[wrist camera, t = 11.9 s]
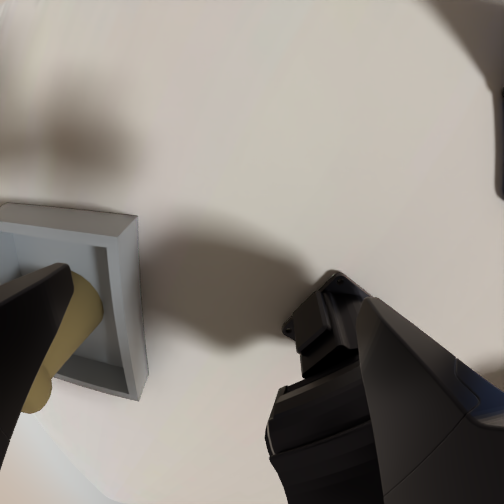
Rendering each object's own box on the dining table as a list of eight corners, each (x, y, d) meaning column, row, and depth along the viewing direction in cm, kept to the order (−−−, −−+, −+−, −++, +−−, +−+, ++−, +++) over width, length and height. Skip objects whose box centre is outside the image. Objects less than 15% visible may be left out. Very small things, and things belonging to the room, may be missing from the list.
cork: (69, 333, 26) (14, 424, 16) (33, 279, 23) (-41, 362, 13) (116, 322, 25) (60, 428, 15) (78, 260, 22) (-6, 356, 12)
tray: (6, 202, 21) (-20, 218, 18) (137, 216, 21) (117, 237, 18) (40, 345, 28) (25, 366, 25) (148, 373, 28) (138, 401, 25)
